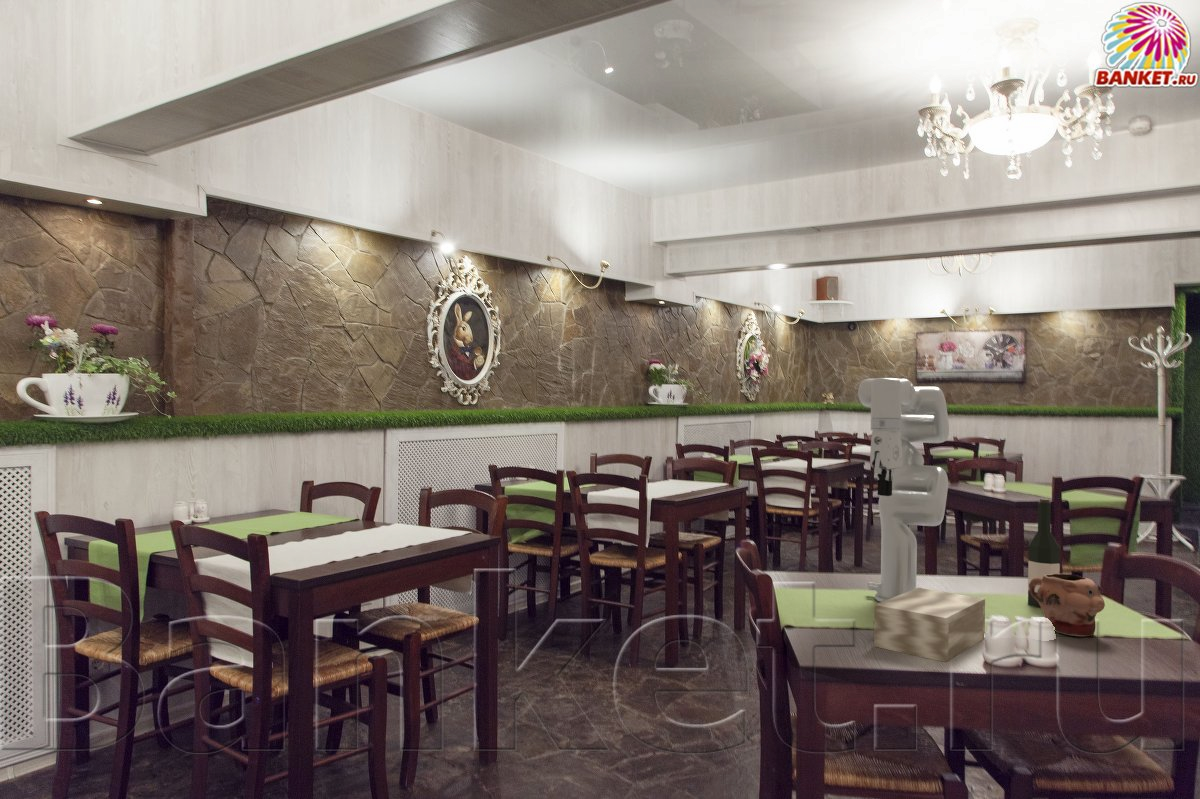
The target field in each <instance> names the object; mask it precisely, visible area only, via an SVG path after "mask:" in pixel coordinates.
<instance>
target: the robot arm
mask: <svg viewBox="0 0 1200 799" xmlns="http://www.w3.org/2000/svg"><path fill="white" fill-rule="evenodd" d="M857 392H858V393H857V395H858V400H859V401H860V404H862V406H863V407H865V408H870V431H871V441H870V454H869V456H870V458H869V461H870V466H871V467H872V468H873V469H874V470H873V472H874V474H876V478H877V496H879V499H878V512H879V519H880V530H881V531H880V533H881V535H880V536H881V537H880V538H881V539H880V540H881V542H880V545H881V546H880V548H881V551H880V552H881V553H880V582H878V583H876V582H874V581H873V582H872V581H868V582H867V589H868V590H870V591H875V592H876V593H875V594H874V599H875V600H876V601H877V602H878V603H881V602H883V601H886V600H888V599H891V598H893V597H896V596H898V595H901V594H903V593H906V592H908V591H911V590H914V589H916V588H917V565H918V564H917V562H918V561H917V557H918V556H917V555H918V554H917V553H918V552H917V551H918V549H917V548H918V543H917V542H918V541H917V538H916V536H915V534H914V533H913V531H912V529H911V528H910V527H909V526H923V527H924V526H925V527H926V526H927V527H937V526H939V525H941V524H942V522H943V520H944V518H945V517H944V516H945V514H946V513H945V512H946V506H947V498H948V491H949V478H948V474H947V472H946V470H945V469H944V468H943V467H941V466H936V465H924V464H925V460H924V459H925V458H924V456H923V454H922V453H921V452H920V451H919V449H918V448H917V447H915V445H913V444H911V443H921V444H922V443H923V444H924V443H925V444H941V443H942V444H943V443H944V442H946V441H947V439H948V438H949V436H950V422H949V416H948V407H947V401H946V398H945V394H944V392H943V391H942V389H941V388H939V387H938V386H914V384H913V383H912V381H911V380H909V379H907V378H894V377H876V378H865V379H863V380H862V381H861V382H860V384H859V386H858V391H857Z"/></svg>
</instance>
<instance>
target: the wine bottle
mask: <svg viewBox="0 0 1200 799" xmlns="http://www.w3.org/2000/svg"><path fill="white" fill-rule="evenodd" d="M1037 502H1038V503H1037V507H1038V508H1037V532H1036V533H1035V535H1034V536H1033V538H1032V539H1030V542H1029V543H1028V557H1027V558H1028V565H1027V567H1028V571H1027V572H1028V574H1027V575H1028V576H1027V577H1028V578H1027V580H1028V581H1027V606H1031V607H1034V608H1038V609H1042V608H1041V606H1040V605H1039V603H1038V601H1037V600H1036V599H1035V598H1033V597H1032V595H1031V593H1030V590H1029V584H1030V582H1031V580H1032V579H1033V578H1037V577H1041V578H1043V576H1044V575H1047V574H1061V573H1060V571H1061V569H1060V568H1061V567H1060V566H1061V565H1060V562H1061V561H1060V560H1061V557H1060V556H1061V547H1060V545H1059V543H1058V542H1057V540H1056V538H1055V537H1054V536H1053V534H1052V532H1051V530H1052V529H1051V528H1052V525H1051V524H1052V522H1051V521H1052V520H1051V519H1052V502H1050V498H1049V499H1048V498H1040V499H1039V501H1037ZM1040 586H1041V585H1036V587H1035V594H1036V596H1037V591H1038V589H1039V587H1040Z"/></svg>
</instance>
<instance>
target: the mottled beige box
mask: <svg viewBox="0 0 1200 799" xmlns="http://www.w3.org/2000/svg"><path fill="white" fill-rule="evenodd" d="M873 619H874V620H873V626H874V627H873V628H874V629H873V647H874V648H875V647H876V648H880V649H883V650H889V651H894V652H898V653H902V654H907V655H911V656H917V657H921V658H926V659H930V660H934V661H939V662H944V663H947V662H948V661H950V660H952V659H953V658H954V657H955V658H956V656H958V655H959V654H962V653H963V652H965V651H966V650H968V649H970V648H971V647H973V646H974V645H976V644H978V643H980V642H981V641H983V640H984V639H985V638H984V633H985V634H986V632H985V631H986V598H984V597H977V596H970V595H964V594H958V593H954V592H953V593H952V592H948V591H947V592H946V591H940V590H935V589H931V588H930V589H928V588H923V587H916V589H914V590H911V591H908V592H906V593H903V594H901V595H898V596H896V597H893V598H891V599H888V600H886V601H883V602H878V603H876V604H874V618H873Z"/></svg>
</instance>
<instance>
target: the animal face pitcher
mask: <svg viewBox="0 0 1200 799" xmlns="http://www.w3.org/2000/svg"><path fill="white" fill-rule="evenodd" d="M1036 585H1041V586H1040V587H1039V589H1038V591H1037V596H1036V594H1035V587H1036ZM1029 590H1030V593H1031V595H1032V597H1033V598H1035V599H1036V600H1037V601H1038V603H1039V605H1040V606H1041V608H1040V609H1041V610H1042V613H1043V615H1044V618H1045V617H1046V618H1048V619H1049V620H1050V621H1051V622H1052V624H1053V626H1054V627H1055V630H1056V633H1059V634H1064V635H1067V636H1075V637H1088V636H1090V637H1091V636H1093V635H1094V634H1095V632H1096V616H1097V614H1098V613H1100V612H1102V611H1103V610H1104V609H1105V606H1106V605H1105V604H1106V603H1105V599H1104V598H1103V596H1102V595H1101V592H1100V588H1099V587H1098V585H1097V583H1095V582H1094V580H1092V579H1091V578H1088V577H1083V576H1079V575H1076V574H1070V573H1060V574H1047V575H1044V576H1043V578H1041V577H1037V578H1033V579H1032V580H1031V582H1030V584H1029Z"/></svg>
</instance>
